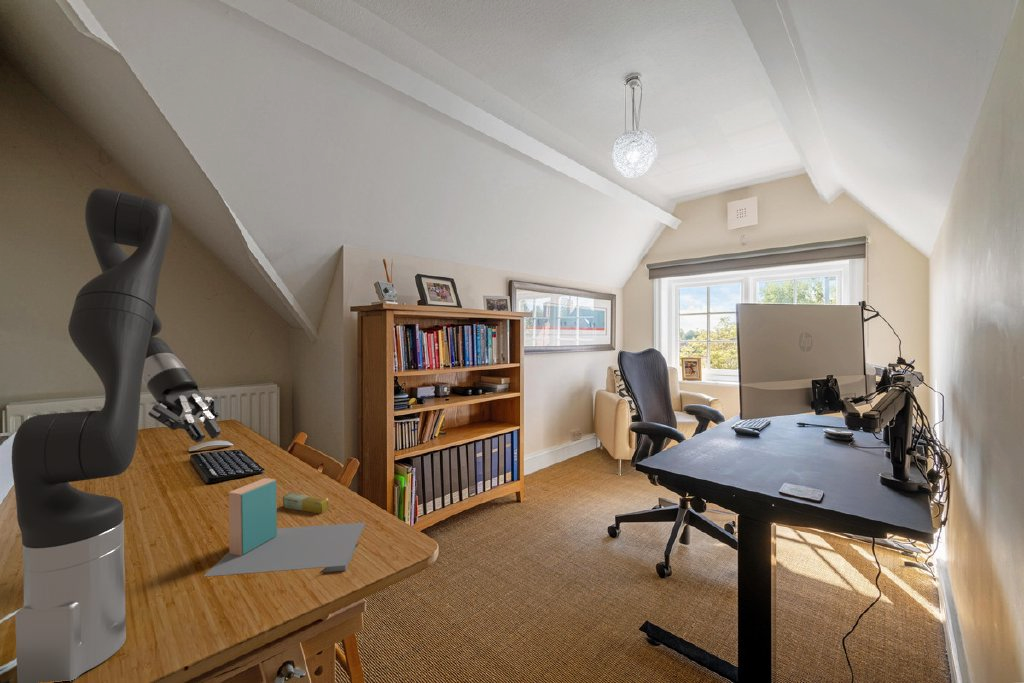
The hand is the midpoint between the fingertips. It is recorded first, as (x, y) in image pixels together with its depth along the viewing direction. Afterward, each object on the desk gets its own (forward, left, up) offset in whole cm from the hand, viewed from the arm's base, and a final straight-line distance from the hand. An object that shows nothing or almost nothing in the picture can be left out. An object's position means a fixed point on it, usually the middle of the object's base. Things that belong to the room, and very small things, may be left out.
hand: (209, 437), depth 85 cm
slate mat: (-7, -19, -22) cm, 30 cm away
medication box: (+11, -15, -22) cm, 29 cm away
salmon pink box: (-5, -11, -21) cm, 24 cm away
